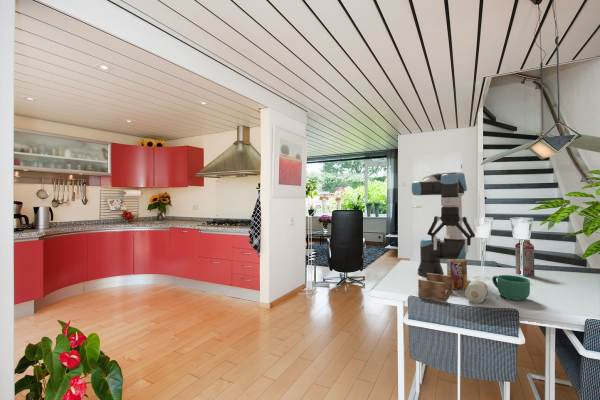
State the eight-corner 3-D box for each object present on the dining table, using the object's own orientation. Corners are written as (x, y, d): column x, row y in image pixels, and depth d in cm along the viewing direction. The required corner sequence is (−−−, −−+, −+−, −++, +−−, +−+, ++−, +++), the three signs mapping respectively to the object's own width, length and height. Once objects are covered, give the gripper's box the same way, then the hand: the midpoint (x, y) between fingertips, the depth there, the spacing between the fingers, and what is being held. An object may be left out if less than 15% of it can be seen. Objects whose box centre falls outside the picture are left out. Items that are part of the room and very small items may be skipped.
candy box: (463, 286, 159) (462, 258, 159) (467, 289, 155) (467, 260, 155) (446, 287, 159) (446, 259, 159) (451, 289, 155) (450, 260, 155)
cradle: (418, 296, 144) (418, 279, 144) (427, 287, 159) (427, 272, 159) (444, 300, 137) (444, 283, 137) (452, 291, 151) (452, 275, 151)
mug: (537, 301, 135) (536, 280, 135) (514, 303, 133) (514, 282, 133) (505, 290, 152) (505, 272, 152) (484, 292, 149) (484, 274, 149)
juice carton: (534, 276, 180) (533, 240, 181) (523, 276, 180) (523, 240, 181) (526, 273, 187) (525, 239, 187) (515, 273, 187) (515, 239, 187)
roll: (469, 295, 146) (467, 279, 146) (488, 297, 141) (486, 280, 141) (465, 302, 136) (463, 285, 136) (486, 304, 131) (483, 286, 132)
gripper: (420, 206, 145) (421, 249, 144) (478, 206, 129) (479, 254, 128) (425, 206, 150) (425, 247, 150) (481, 206, 135) (482, 252, 134)
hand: (450, 251), depth 139 cm, fingers open, 13 cm apart
